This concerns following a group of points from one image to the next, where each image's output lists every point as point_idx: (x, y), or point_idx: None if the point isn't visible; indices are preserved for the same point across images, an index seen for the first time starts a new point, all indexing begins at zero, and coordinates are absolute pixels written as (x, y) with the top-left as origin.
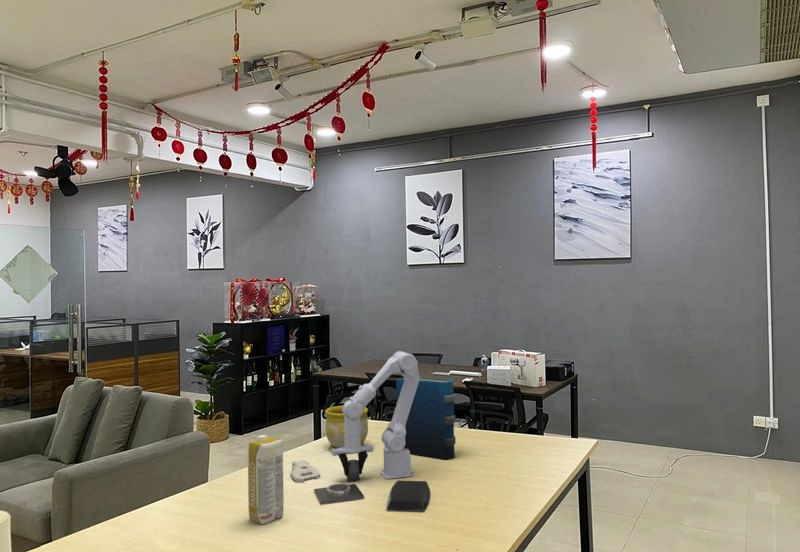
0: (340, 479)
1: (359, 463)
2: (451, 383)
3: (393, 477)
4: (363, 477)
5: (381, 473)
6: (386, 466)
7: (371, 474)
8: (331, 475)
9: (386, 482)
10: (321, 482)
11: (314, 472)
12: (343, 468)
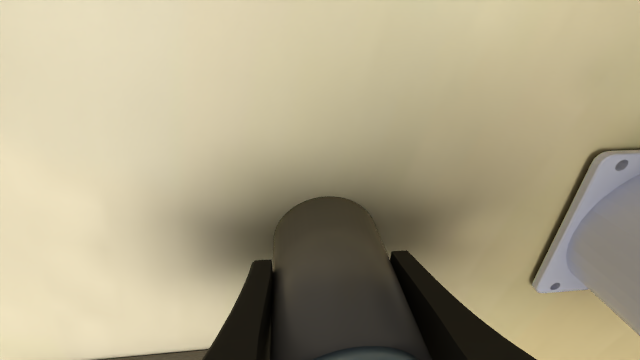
0: (223, 199)
1: (431, 348)
2: None
3: (577, 288)
4: (419, 207)
5: (580, 188)
6: (632, 316)
7: (512, 159)
8: (124, 47)
9: (497, 317)
10: (40, 223)
11: None
12: (237, 306)
